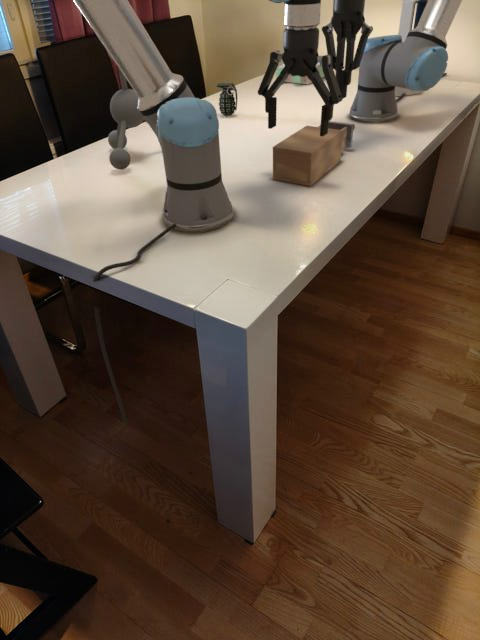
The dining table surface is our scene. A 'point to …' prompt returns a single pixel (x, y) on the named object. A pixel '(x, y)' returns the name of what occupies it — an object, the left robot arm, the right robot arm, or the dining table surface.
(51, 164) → the dining table surface
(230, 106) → the grenade
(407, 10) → the electronic device
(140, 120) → the molecular model
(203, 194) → the left robot arm
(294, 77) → the decorative block
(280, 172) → the brown wooden box
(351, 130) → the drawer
